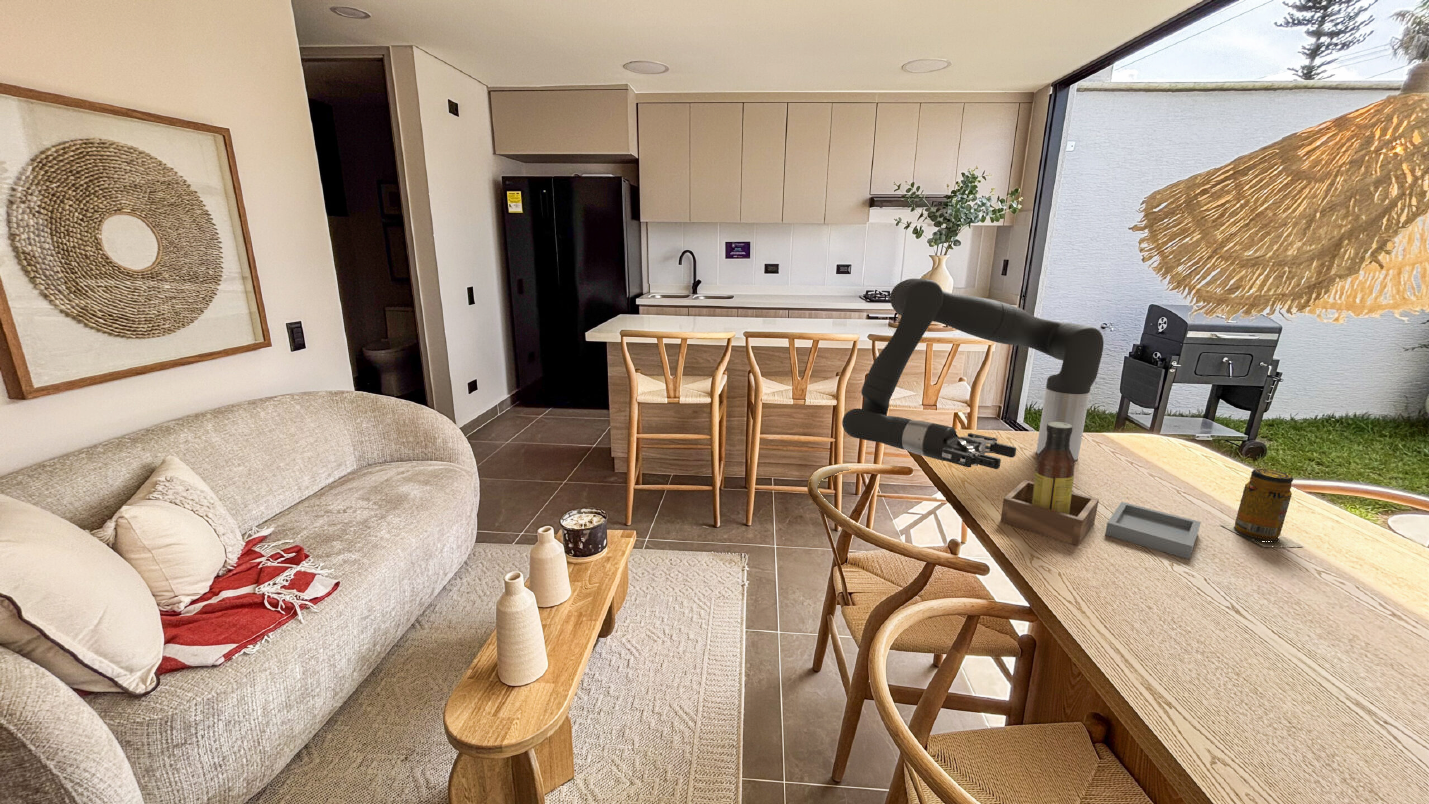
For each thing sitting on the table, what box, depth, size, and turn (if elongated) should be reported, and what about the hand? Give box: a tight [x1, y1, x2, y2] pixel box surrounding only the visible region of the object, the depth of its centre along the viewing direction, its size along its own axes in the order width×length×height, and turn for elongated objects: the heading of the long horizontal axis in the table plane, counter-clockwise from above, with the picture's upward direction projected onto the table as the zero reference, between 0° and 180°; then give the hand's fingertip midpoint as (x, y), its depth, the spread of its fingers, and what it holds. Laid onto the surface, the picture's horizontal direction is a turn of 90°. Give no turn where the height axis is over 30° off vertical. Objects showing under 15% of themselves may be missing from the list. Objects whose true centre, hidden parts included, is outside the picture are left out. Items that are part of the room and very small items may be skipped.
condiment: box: [1219, 468, 1304, 549], centre depth 99 cm, size 7×8×12 cm
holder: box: [1000, 479, 1100, 547], centre depth 105 cm, size 12×13×5 cm
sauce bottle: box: [1032, 422, 1076, 514], centre depth 103 cm, size 6×6×20 cm
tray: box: [1104, 501, 1202, 560], centre depth 101 cm, size 12×12×2 cm
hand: (1007, 458), depth 109 cm, fingers open, 8 cm apart
